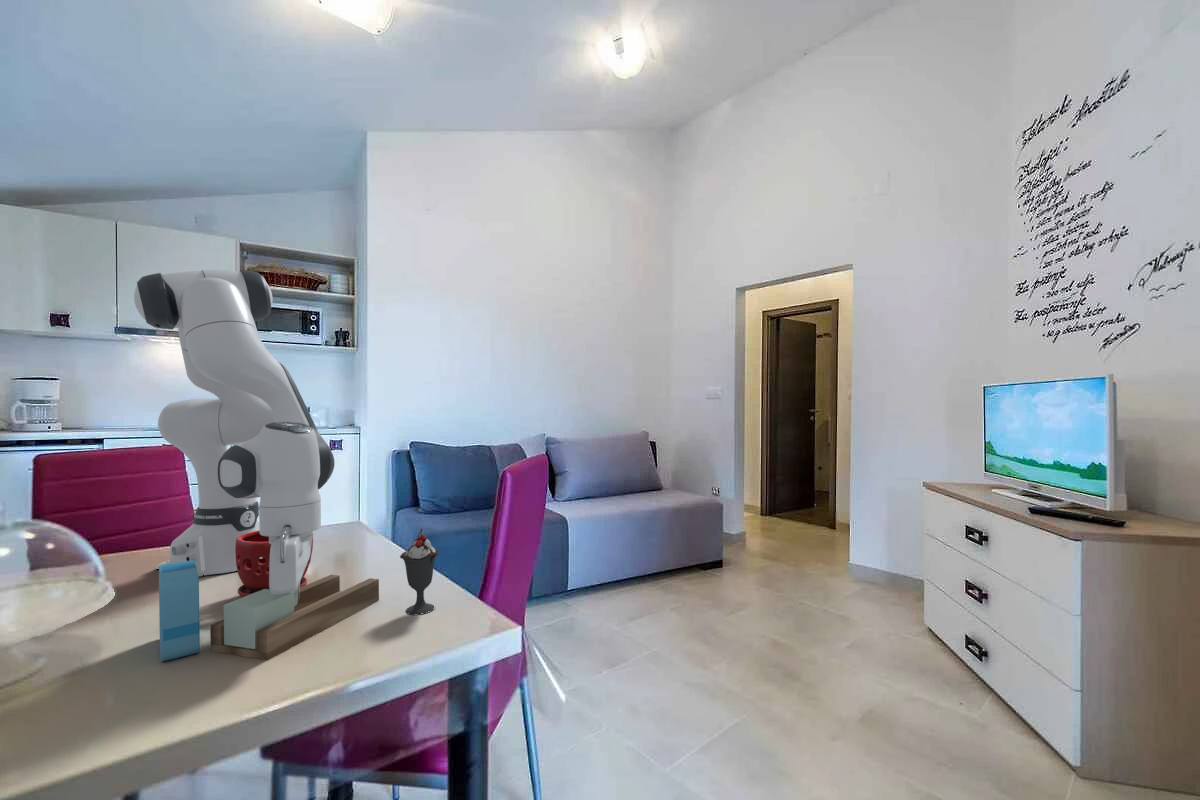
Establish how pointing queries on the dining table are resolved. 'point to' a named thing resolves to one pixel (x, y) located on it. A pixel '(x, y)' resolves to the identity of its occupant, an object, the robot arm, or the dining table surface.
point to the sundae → (420, 571)
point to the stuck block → (254, 616)
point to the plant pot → (256, 562)
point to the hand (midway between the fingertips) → (292, 603)
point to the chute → (304, 617)
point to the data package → (179, 610)
